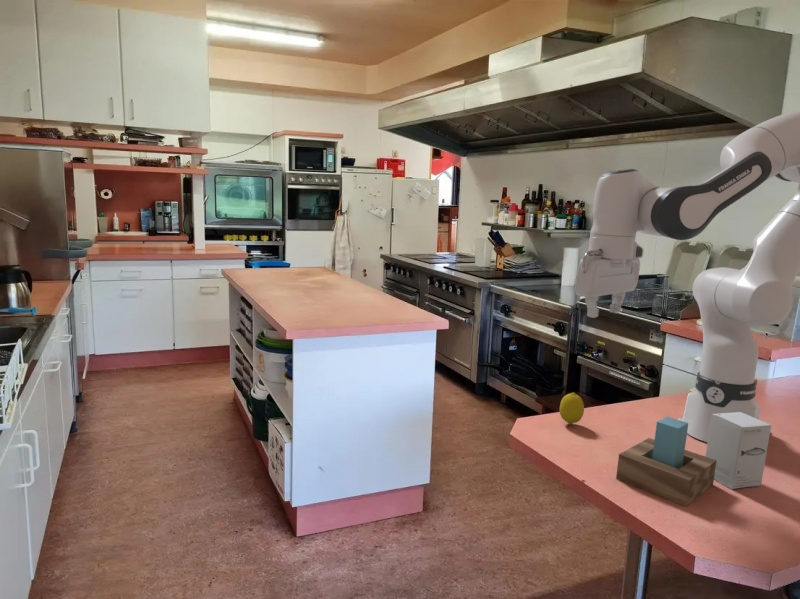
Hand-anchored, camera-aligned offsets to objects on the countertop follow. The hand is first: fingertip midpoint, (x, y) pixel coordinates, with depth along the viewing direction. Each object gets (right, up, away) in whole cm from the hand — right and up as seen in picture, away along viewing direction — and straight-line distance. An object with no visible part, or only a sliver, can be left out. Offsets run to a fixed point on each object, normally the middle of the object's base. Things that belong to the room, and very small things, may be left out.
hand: (603, 314), depth 121 cm
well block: (+8, -32, -11) cm, 34 cm away
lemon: (-2, -27, +16) cm, 31 cm away
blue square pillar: (+8, -31, -11) cm, 34 cm away
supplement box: (+22, -32, -8) cm, 40 cm away
